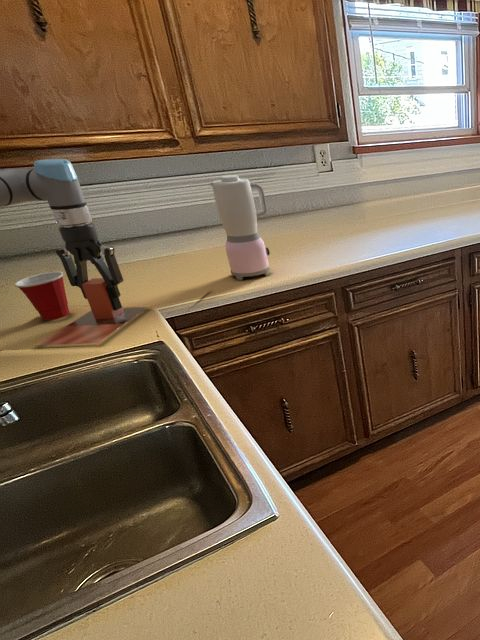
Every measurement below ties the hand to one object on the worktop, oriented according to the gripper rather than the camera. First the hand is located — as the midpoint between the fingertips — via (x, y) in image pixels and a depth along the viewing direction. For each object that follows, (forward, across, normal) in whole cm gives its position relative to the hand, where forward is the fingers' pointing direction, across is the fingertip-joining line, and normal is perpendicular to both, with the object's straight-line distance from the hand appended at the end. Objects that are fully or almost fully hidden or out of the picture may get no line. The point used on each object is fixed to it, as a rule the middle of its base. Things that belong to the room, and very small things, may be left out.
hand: (107, 308), depth 143 cm
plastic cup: (+3, -16, +2) cm, 16 cm away
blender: (+3, +28, +36) cm, 46 cm away
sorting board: (+3, 0, -6) cm, 7 cm away
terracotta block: (+2, 0, 0) cm, 2 cm away
